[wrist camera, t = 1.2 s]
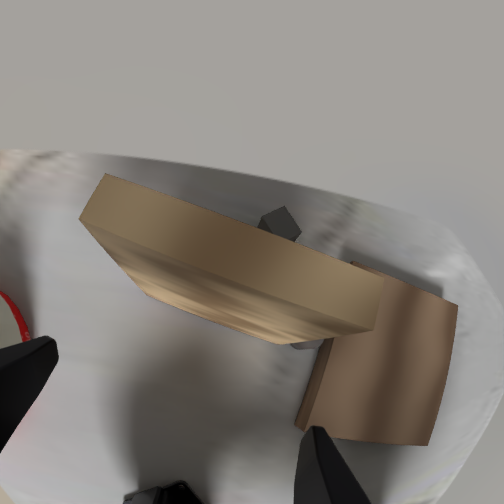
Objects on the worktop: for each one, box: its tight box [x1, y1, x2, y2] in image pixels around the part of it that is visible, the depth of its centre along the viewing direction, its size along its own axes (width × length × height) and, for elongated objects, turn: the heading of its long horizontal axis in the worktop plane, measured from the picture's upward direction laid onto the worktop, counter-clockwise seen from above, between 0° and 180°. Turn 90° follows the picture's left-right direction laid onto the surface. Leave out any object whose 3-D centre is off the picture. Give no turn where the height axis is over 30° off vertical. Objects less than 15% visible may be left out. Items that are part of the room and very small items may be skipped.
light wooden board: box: [79, 173, 384, 349], centre depth 16 cm, size 13×2×14 cm, turn 71°
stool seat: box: [294, 261, 458, 446], centre depth 22 cm, size 13×14×2 cm
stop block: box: [257, 206, 302, 242], centre depth 24 cm, size 2×2×4 cm
